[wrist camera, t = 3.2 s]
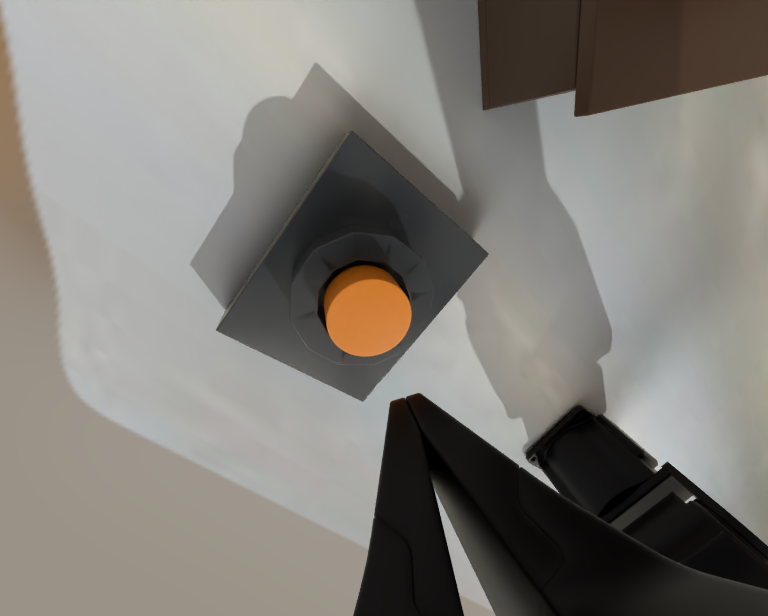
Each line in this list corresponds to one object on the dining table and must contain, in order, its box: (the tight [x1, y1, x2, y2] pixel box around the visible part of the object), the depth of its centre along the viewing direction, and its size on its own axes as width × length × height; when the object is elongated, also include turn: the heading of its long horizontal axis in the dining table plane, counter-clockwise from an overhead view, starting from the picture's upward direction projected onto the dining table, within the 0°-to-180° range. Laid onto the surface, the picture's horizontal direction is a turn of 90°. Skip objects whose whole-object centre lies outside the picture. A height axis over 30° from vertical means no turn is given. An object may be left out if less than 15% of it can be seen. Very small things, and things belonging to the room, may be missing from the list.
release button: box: [324, 265, 412, 357], centre depth 15 cm, size 4×4×2 cm
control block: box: [216, 131, 489, 401], centre depth 17 cm, size 11×9×4 cm
